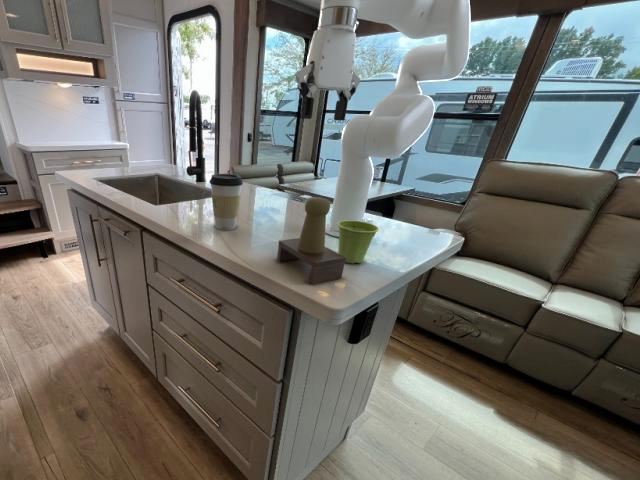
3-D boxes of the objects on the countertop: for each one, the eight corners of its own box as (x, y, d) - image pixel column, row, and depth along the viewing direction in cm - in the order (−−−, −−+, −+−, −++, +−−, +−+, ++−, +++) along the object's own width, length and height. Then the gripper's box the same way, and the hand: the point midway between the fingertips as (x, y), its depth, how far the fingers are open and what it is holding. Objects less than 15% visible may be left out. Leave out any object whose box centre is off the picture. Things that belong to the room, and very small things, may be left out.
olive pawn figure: (324, 254, 68) (334, 202, 62) (296, 251, 69) (303, 199, 63) (324, 245, 73) (333, 196, 67) (297, 242, 74) (304, 194, 68)
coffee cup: (222, 220, 105) (223, 172, 97) (247, 226, 100) (249, 176, 92) (203, 227, 98) (202, 175, 90) (228, 233, 93) (229, 180, 85)
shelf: (303, 256, 80) (306, 237, 78) (341, 278, 69) (346, 257, 67) (276, 260, 77) (278, 240, 74) (312, 284, 66) (315, 262, 64)
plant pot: (336, 249, 85) (343, 217, 81) (372, 257, 81) (382, 224, 77) (326, 260, 78) (333, 226, 74) (365, 270, 74) (375, 234, 70)
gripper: (355, 33, 71) (340, 120, 80) (291, 21, 64) (283, 117, 73) (381, 26, 66) (362, 121, 74) (314, 12, 59) (302, 118, 67)
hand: (322, 119), depth 73 cm, fingers open, 9 cm apart
